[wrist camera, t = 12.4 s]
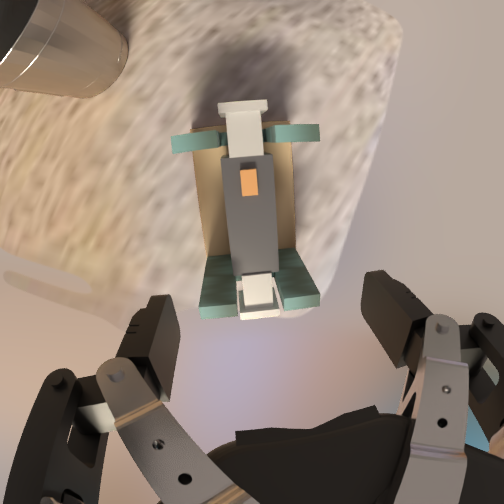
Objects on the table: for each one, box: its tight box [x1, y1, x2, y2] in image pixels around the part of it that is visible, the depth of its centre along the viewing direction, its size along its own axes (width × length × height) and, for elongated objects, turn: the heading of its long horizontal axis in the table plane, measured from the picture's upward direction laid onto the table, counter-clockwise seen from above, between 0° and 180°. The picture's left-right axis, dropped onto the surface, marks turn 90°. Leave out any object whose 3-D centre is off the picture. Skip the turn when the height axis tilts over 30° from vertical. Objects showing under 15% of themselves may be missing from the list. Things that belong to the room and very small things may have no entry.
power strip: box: [218, 99, 280, 320], centre depth 24 cm, size 4×19×6 cm, turn 5°
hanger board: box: [171, 121, 320, 319], centre depth 24 cm, size 10×16×11 cm, turn 5°
